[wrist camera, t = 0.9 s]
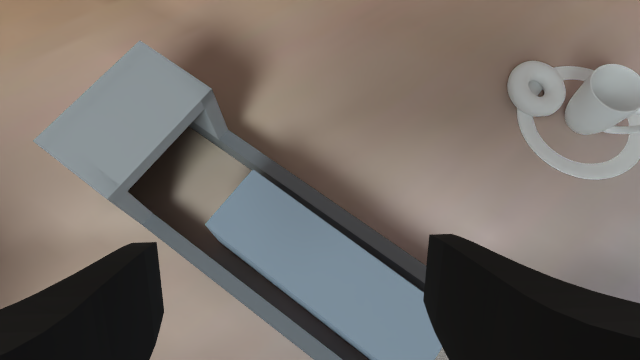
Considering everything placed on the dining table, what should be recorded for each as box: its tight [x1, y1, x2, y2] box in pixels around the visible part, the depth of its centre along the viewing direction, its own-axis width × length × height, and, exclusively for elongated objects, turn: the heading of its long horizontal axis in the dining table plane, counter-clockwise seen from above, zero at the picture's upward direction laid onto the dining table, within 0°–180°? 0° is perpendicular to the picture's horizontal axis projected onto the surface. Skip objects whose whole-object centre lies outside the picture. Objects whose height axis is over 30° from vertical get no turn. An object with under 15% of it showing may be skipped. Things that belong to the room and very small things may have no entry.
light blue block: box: [205, 169, 442, 360], centre depth 23 cm, size 12×4×4 cm, turn 53°
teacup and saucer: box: [507, 61, 640, 180], centre depth 27 cm, size 9×8×4 cm
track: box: [33, 41, 426, 360], centre depth 22 cm, size 20×7×6 cm, turn 54°
